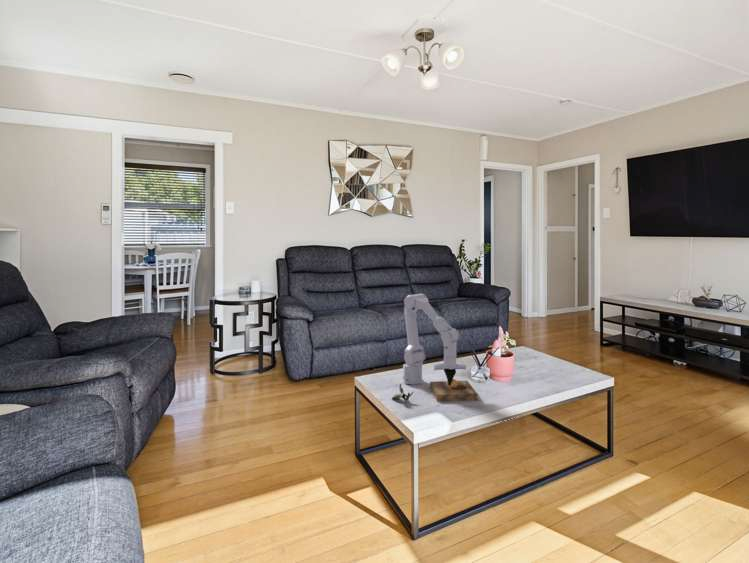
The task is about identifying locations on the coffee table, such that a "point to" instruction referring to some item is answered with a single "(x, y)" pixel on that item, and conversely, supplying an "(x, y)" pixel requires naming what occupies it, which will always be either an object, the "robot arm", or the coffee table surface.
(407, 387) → the coffee table surface
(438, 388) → the board
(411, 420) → the coffee table surface
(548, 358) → the coffee table surface
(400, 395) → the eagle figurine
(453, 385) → the ball
